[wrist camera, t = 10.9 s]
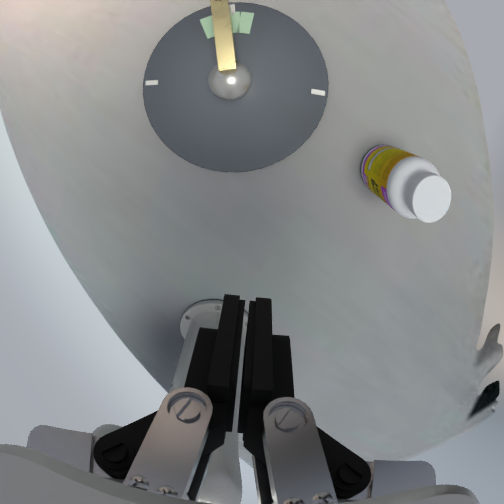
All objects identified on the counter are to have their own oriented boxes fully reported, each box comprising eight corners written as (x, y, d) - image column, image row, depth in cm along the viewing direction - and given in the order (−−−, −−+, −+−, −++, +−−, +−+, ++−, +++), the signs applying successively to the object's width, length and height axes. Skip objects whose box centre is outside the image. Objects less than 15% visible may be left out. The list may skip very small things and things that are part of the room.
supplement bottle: (349, 170, 34) (389, 200, 22) (381, 133, 31) (434, 148, 20) (382, 203, 35) (427, 245, 24) (412, 169, 33) (468, 198, 21)
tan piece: (253, 97, 29) (252, 95, 26) (215, 102, 29) (209, 101, 26) (241, 0, 23) (238, -11, 20) (203, 6, 23) (197, -4, 20)
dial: (313, 180, 35) (315, 182, 33) (143, 165, 34) (139, 168, 33) (333, 17, 24) (335, 14, 23) (156, 9, 24) (152, 6, 23)
